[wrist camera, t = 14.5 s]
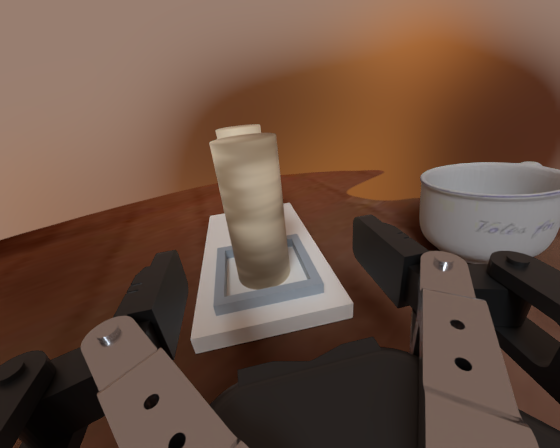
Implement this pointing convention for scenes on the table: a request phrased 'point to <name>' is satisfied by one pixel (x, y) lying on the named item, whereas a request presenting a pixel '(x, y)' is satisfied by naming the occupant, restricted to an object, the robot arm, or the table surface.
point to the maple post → (253, 207)
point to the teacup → (490, 208)
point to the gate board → (269, 301)
